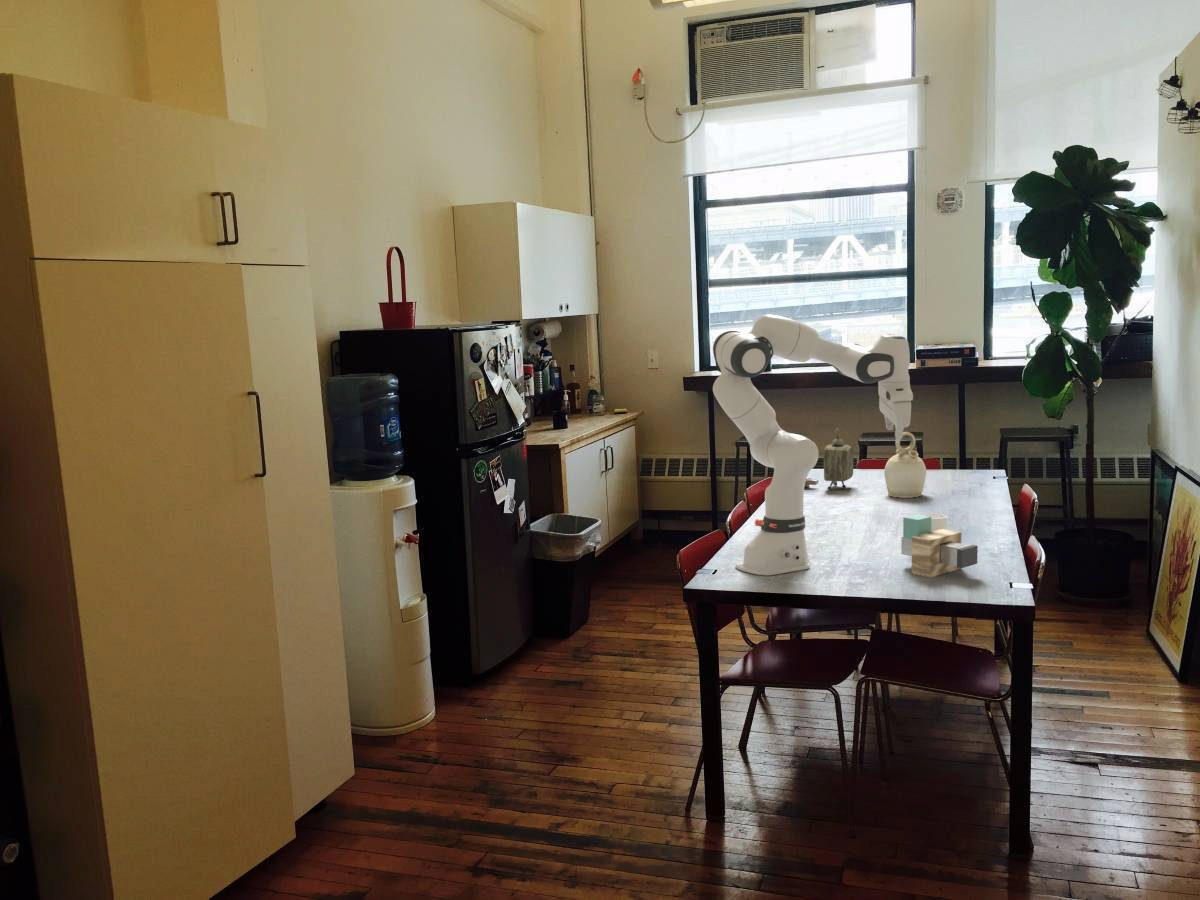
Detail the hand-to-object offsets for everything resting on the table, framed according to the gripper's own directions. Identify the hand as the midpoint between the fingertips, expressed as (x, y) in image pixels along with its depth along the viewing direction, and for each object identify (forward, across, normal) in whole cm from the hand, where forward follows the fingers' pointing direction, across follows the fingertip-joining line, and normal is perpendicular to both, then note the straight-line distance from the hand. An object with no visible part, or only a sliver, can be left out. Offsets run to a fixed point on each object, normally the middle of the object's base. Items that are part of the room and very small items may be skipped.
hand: (893, 433), depth 295 cm
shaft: (+29, +27, +5) cm, 40 cm away
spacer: (+25, +21, +1) cm, 33 cm away
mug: (+36, +10, +7) cm, 38 cm away
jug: (+51, -81, +27) cm, 99 cm away
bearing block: (+33, +27, +4) cm, 43 cm away
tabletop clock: (+53, -100, +5) cm, 113 cm away
